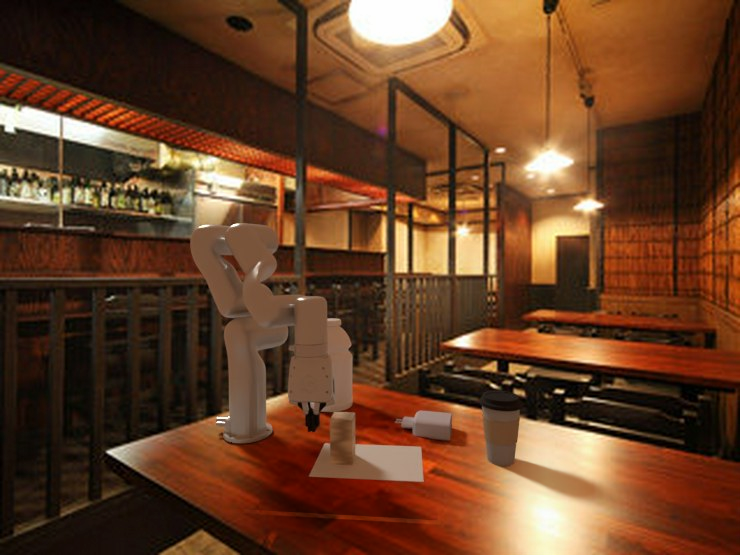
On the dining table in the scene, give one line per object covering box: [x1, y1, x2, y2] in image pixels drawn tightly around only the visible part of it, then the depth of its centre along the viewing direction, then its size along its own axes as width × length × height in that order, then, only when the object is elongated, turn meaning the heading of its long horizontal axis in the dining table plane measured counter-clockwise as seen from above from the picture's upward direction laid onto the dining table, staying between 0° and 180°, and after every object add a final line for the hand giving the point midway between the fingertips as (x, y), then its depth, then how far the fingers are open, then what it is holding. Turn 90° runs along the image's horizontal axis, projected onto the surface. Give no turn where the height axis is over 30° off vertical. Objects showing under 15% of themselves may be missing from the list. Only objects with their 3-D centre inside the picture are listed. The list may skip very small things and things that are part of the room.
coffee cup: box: [478, 389, 523, 467], centre depth 91 cm, size 9×9×15 cm
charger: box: [394, 409, 453, 442], centre depth 107 cm, size 5×9×15 cm
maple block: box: [329, 411, 356, 465], centre depth 90 cm, size 5×5×10 cm
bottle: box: [311, 317, 354, 413], centre depth 128 cm, size 14×14×28 cm
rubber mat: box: [308, 442, 425, 483], centre depth 90 cm, size 24×16×1 cm, turn 84°
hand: (312, 429), depth 91 cm, fingers closed
